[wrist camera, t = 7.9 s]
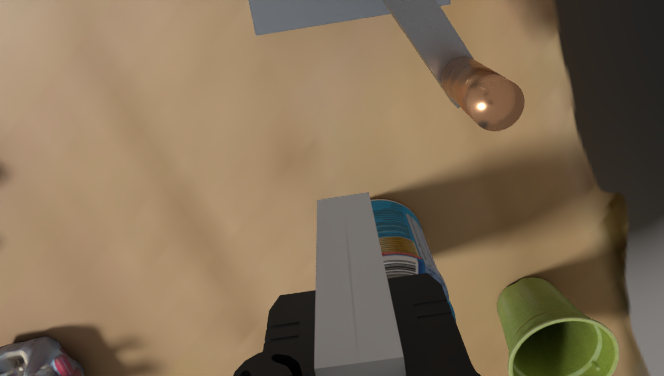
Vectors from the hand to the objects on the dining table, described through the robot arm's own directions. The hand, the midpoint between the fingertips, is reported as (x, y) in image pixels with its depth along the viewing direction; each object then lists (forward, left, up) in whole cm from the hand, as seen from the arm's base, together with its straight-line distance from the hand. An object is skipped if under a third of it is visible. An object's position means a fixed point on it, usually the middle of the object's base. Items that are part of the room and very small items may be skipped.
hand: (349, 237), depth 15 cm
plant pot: (+26, +16, -28) cm, 42 cm away
